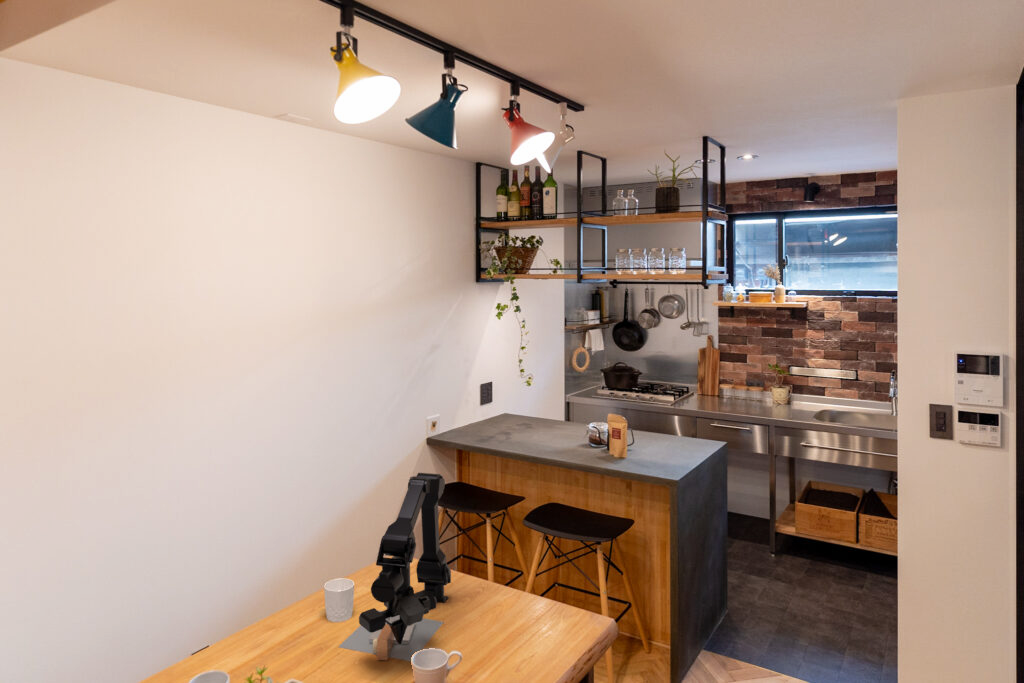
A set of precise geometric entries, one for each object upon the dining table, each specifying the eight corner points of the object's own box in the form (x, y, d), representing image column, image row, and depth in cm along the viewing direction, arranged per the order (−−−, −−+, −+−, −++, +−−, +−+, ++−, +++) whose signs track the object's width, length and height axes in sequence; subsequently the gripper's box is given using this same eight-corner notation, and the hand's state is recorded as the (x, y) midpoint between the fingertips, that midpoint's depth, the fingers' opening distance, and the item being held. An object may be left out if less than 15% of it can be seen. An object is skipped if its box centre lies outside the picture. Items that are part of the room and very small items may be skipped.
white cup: (346, 629, 180) (346, 592, 179) (319, 625, 182) (318, 589, 181) (359, 614, 188) (359, 579, 187) (332, 611, 189) (332, 576, 189)
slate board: (376, 614, 188) (376, 599, 188) (443, 626, 183) (444, 611, 182) (338, 651, 169) (337, 635, 169) (411, 666, 163) (412, 649, 163)
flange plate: (378, 622, 181) (378, 604, 180) (415, 624, 181) (415, 606, 180) (361, 659, 163) (361, 639, 163) (402, 660, 163) (403, 640, 163)
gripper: (381, 607, 153) (382, 673, 155) (449, 582, 165) (449, 643, 167) (357, 589, 161) (358, 651, 163) (423, 567, 173) (424, 625, 175)
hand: (399, 643), depth 167 cm, fingers closed
